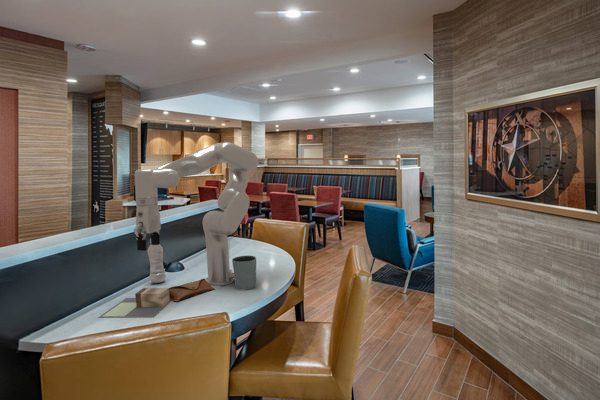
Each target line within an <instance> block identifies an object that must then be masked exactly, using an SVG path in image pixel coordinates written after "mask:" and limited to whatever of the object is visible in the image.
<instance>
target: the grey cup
mask: <svg viewBox="0 0 600 400" xmlns="http://www.w3.org/2000/svg"><path fill="white" fill-rule="evenodd" d="M231 262H232V268H233V269H232V270H233V273H234V276H235V278H234V281H235V283H234V284H235V288H236V289H238V290H244V291H245V290H251V288H252V289H254V288H256V286H257V257H256V256H254V255H241V256H235V257H233V258H232V259H231Z"/></svg>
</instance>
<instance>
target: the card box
mask: <svg viewBox="0 0 600 400" xmlns="http://www.w3.org/2000/svg"><path fill="white" fill-rule="evenodd" d="M169 288H170V287H143V288H141V289H140V290H138V291H137V292H136V293H134V296H135V298H136V307H163V306H164V305H165V304H166V303H167V302H169V301H170V296H169Z"/></svg>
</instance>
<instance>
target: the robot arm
mask: <svg viewBox="0 0 600 400" xmlns="http://www.w3.org/2000/svg"><path fill="white" fill-rule="evenodd" d="M224 163H227V167H228V170H229V179H228V182H227V183H226V185H225V186H224V188H223V190H222V191H221V193H220V195H219V196H218V199H217V201H216V202H217V203H216V204H217V206H218V208H219V209H220V210H210V211H208V212H207V213H205V214H204V216H203V218H202V227H203V228H202V229H203V232H204V236H205V247H206V250H205V251H206V261H207V262H206V264H207V265H206V266H207V278H204V279H205V280H206V281H207V282H208V283H209V284H210V285H211V286H212V287H213V286H214V287H215V286H220V287H221V286H225V285H229V284H232V283H233V282H234V281H235V276H234V271H233V269H230V267H231V265H230V253H229V252H230V251H229V250H230V249H229V238H228V236H229V235H233V234H234V233H235V232H236V231H237V230H238V228H239V226H240V225H241V223H242V221H243V219H244V218H245V216H246V214H247V212H248V210H249V208H250V197H249V195H248V194H247V192H245V191H246V189H247V187H248V181H249V180H248V176H247V172H252V171H255V170H256V169H257V168H258V165H259V158H258V156H257V155H256V154H255V153H254V152H253V151H251V150H248V149H246V148H244V147H242V146H241V145H237V144H235V143H232V142H229V141H228V142H227V141H226V142H217V143H213V144H211V145H209V146H206V147H205V148H202V149H201V150H198V151H196V152H193V153H191V154H189V155H185V156H184V157H181V158H178V159H176V160H174V161H170V162H169V163H166V164H164V165H162V166H159V167H157V168H155V169H147V168H146V169H144V168H143V169H142V168H141V169H137V170H135V172H134V184H135V185H134V188H135V191H134V192H135V205H136V206H135V207H136V212H135V214H136V215H135V227H134V229H133V233H134V236H135V239H136V244H137V246H136V247H137V251H142V252H143V251H144V252H145V251H148V248H147V239H146V237H147V234H150V239H151V243H150V245H159V244H160V243H161V242H160V234H161V233H160V232H161V229H162V223H161V213H160V207H159V201H158V199H159V198H158V194H159V193H158V188H159V189H161V188H162V189H173V188H176V187H177V186H178V185H179V184H180V181H181V179H182V178H185V177H189V176H195V175H199V174H202V173H205V172H206V171H208V170H209V169H211V168H213V167H215V166H218V165H220V164H224ZM160 245H161V244H160Z"/></svg>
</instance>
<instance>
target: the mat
mask: <svg viewBox="0 0 600 400" xmlns="http://www.w3.org/2000/svg"><path fill="white" fill-rule="evenodd" d="M171 302H173V301H172V300H170V301H169V302H167V303H166V304H165V305H164V306H163V307H136V297H126V298H123V300H120V301H119V302H118V303H117V304H115V305H114V306H113V307H111V308H110V309H108V310H107V311H106V312H104V313H102V314H101V315H100V316H98V317H97V318H98V319H129V318H130V319H138V318H139V319H144V318H147V319H148V318H155V317H156V316H157V315H158V314H160V312H161V311H163V310H164V309H165V308H166V307H167V306H168V305H169V304H171Z"/></svg>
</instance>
